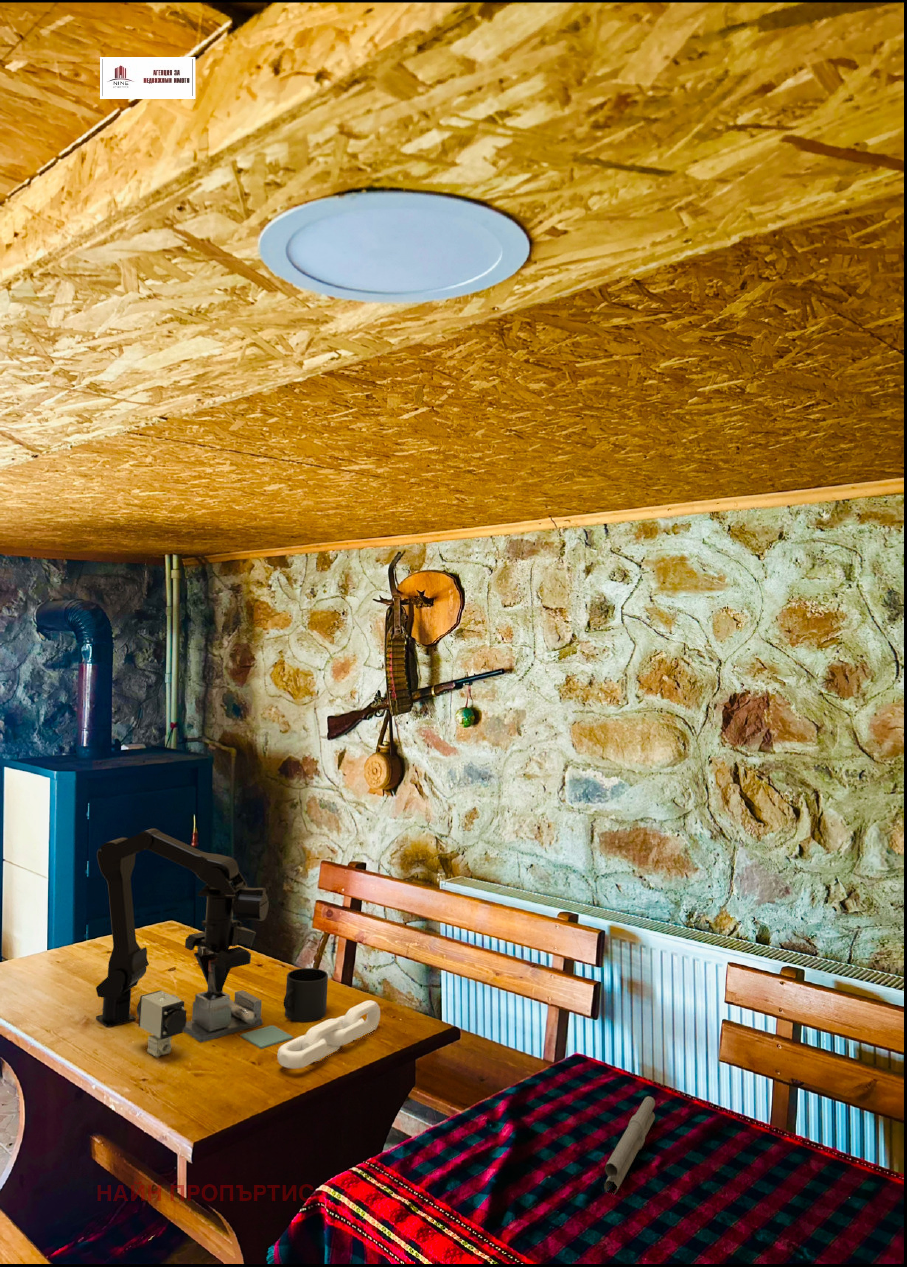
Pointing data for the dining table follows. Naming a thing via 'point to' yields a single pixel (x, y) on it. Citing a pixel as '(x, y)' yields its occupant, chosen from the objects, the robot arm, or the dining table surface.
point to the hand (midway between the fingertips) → (215, 989)
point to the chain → (329, 1036)
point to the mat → (266, 1036)
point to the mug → (306, 994)
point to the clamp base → (242, 1018)
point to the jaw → (212, 1011)
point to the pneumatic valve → (161, 1020)
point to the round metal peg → (212, 983)
